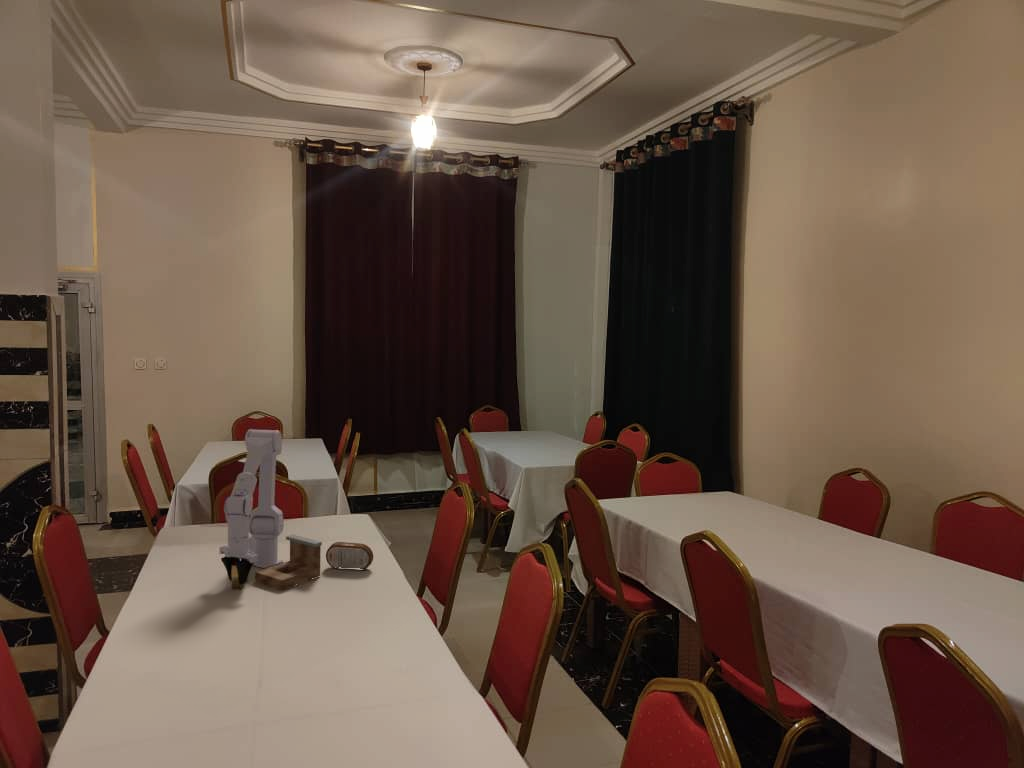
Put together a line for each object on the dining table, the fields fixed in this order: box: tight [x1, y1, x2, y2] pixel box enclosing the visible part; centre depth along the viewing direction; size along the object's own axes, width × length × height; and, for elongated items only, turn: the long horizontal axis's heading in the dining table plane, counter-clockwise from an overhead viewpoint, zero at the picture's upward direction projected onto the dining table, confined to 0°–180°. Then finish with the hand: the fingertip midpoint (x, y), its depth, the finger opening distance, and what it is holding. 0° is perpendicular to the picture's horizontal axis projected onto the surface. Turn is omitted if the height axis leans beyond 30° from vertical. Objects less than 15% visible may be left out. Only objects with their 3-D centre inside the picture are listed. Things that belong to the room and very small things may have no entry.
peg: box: [230, 563, 246, 591], centre depth 206 cm, size 4×4×7 cm
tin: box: [325, 541, 374, 570], centre depth 225 cm, size 15×3×8 cm, turn 84°
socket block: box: [254, 534, 323, 591], centre depth 214 cm, size 13×15×11 cm
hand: (238, 581), depth 206 cm, fingers open, 4 cm apart
